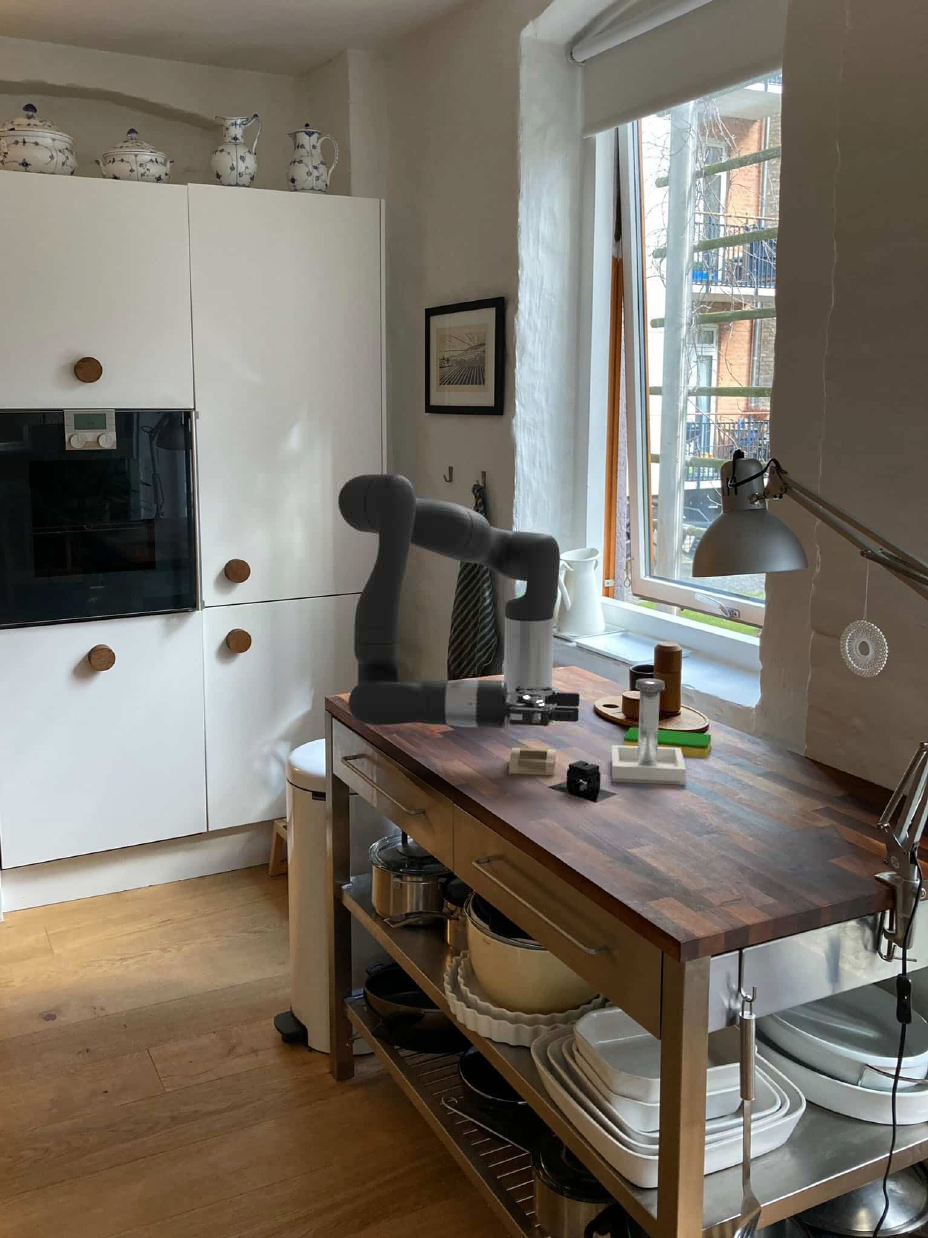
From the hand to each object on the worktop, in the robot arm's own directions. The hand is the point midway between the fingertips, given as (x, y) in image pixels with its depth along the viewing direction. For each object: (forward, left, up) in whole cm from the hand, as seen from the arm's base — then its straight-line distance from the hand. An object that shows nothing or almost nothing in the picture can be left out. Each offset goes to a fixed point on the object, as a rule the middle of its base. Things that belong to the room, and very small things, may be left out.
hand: (578, 706), depth 177 cm
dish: (0, +11, -10) cm, 15 cm away
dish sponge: (-14, +15, -11) cm, 23 cm away
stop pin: (0, +11, -10) cm, 14 cm away
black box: (+10, +1, -11) cm, 15 cm away
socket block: (0, -7, -10) cm, 12 cm away
